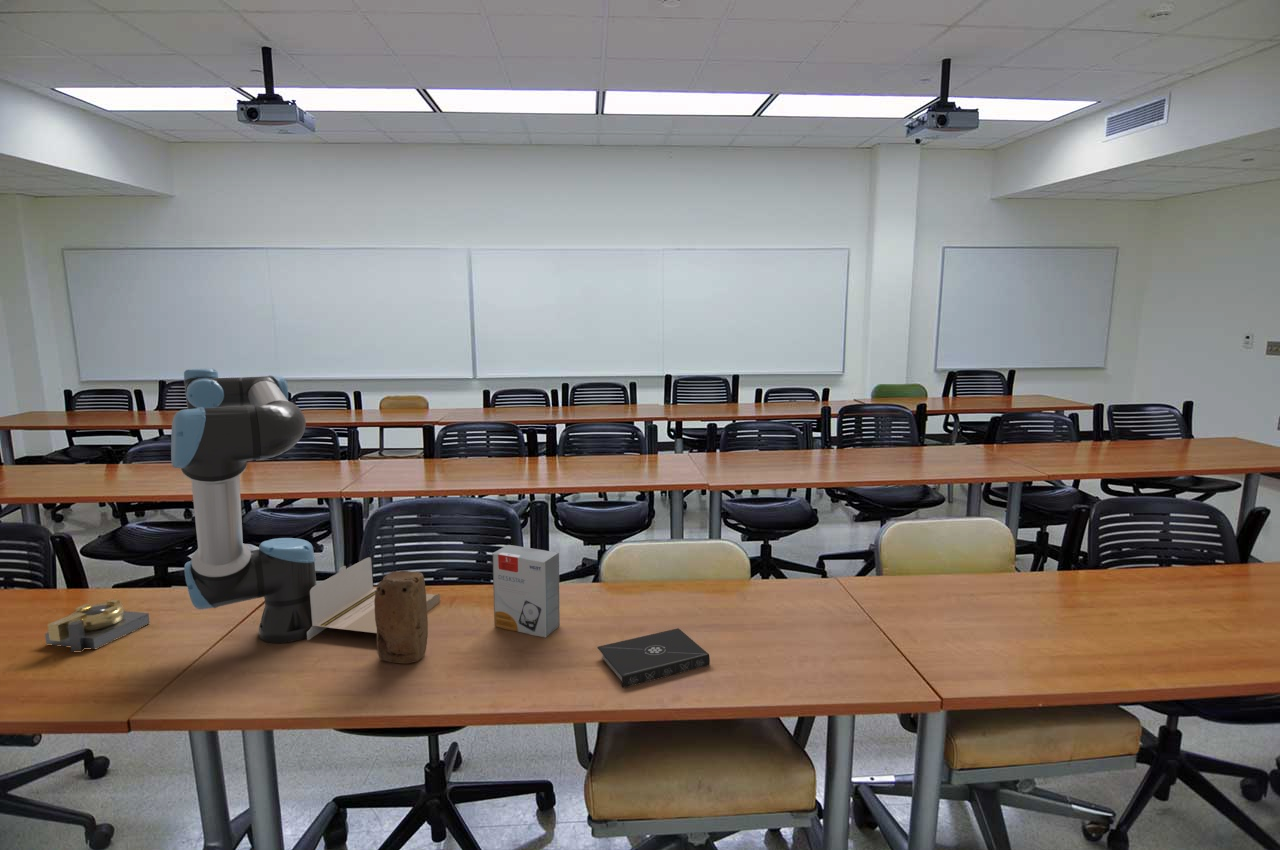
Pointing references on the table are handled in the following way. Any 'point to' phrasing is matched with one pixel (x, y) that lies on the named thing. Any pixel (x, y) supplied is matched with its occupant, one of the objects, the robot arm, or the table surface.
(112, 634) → the housing
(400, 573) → the block
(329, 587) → the box
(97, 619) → the brass ring with ball
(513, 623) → the hard drive box
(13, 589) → the table surface
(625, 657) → the book
